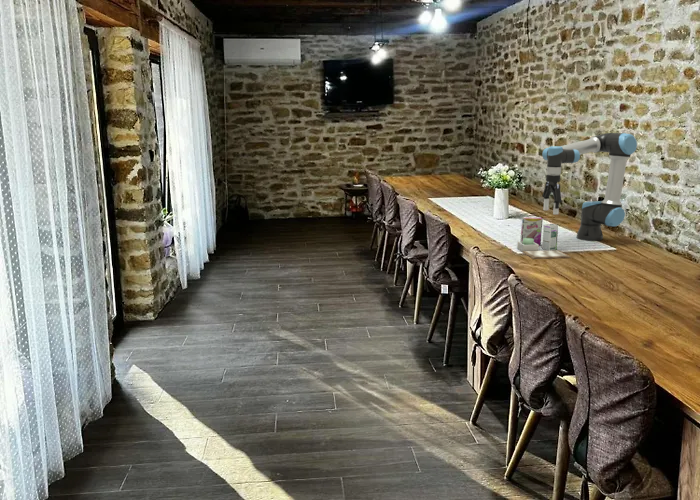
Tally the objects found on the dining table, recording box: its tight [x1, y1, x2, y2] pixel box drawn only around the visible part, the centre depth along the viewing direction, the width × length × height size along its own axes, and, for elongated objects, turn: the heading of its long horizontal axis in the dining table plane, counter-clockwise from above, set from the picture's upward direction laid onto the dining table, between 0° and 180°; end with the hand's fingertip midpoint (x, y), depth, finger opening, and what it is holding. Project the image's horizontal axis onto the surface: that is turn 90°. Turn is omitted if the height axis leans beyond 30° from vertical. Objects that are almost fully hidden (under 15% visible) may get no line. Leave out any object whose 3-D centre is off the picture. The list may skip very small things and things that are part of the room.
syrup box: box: [542, 223, 559, 251], centre depth 347 cm, size 6×6×14 cm
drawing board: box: [522, 249, 572, 260], centre depth 335 cm, size 21×15×1 cm
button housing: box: [516, 241, 540, 253], centre depth 347 cm, size 9×9×4 cm
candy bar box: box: [519, 216, 543, 246], centre depth 359 cm, size 11×5×16 cm, turn 84°
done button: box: [523, 238, 534, 245], centre depth 346 cm, size 6×6×4 cm
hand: (550, 212), depth 343 cm, fingers open, 13 cm apart
